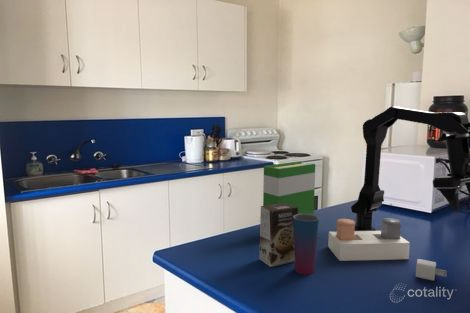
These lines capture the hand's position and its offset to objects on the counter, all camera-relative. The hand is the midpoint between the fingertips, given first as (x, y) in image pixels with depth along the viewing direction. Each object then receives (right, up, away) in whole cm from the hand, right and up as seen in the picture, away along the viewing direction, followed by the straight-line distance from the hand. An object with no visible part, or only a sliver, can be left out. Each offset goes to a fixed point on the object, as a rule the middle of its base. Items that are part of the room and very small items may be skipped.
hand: (466, 208), depth 108 cm
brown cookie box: (-55, -15, 0) cm, 57 cm away
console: (-27, -14, +5) cm, 31 cm away
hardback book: (-48, -12, +24) cm, 55 cm away
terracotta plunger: (-34, -10, +4) cm, 36 cm away
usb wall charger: (-16, -17, -11) cm, 26 cm away
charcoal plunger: (-20, -10, +5) cm, 23 cm away
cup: (-48, -16, -7) cm, 51 cm away
